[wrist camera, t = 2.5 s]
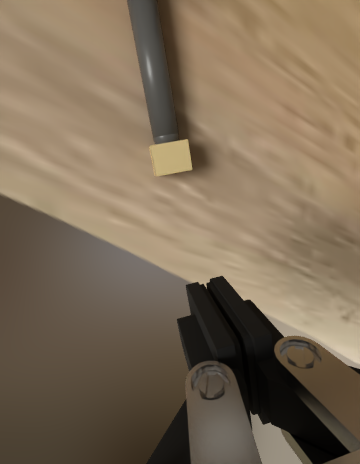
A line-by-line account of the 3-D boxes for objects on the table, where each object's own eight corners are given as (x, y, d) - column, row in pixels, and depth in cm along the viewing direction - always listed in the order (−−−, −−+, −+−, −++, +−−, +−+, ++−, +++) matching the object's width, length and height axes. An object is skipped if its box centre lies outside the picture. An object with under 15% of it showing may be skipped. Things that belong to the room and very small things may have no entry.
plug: (157, -121, 14) (165, -250, 10) (198, 167, 19) (216, 166, 14) (79, -117, 13) (50, -252, 9) (141, 177, 18) (142, 180, 14)
